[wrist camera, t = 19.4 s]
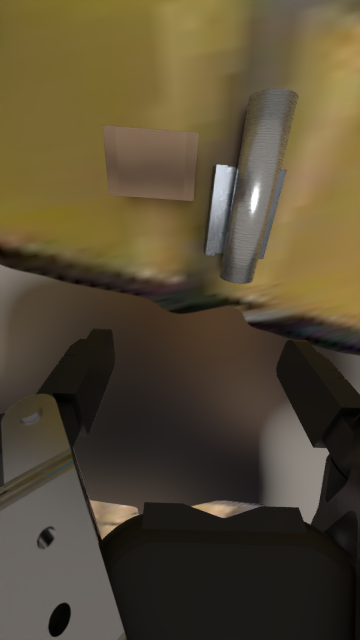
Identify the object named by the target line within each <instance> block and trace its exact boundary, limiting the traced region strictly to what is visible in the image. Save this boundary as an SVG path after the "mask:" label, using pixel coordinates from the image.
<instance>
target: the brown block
mask: <svg viewBox="0 0 360 640" xmlns="http://www.w3.org/2000/svg"><path fill="white" fill-rule="evenodd" d="M103 134H104V145H105V155H106V166H107V176H108V187H109V195H115V196H129V197H143V198H157V199H171V200H185V201H193V200H194V188H195V175H196V163H197V151H198V139H199V133H194V132H182V131H169V130H157V129H144V128H131V127H119V126H106V125H103Z"/></svg>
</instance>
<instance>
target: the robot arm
mask: <svg viewBox="0 0 360 640" xmlns="http://www.w3.org/2000/svg"><path fill="white" fill-rule="evenodd" d="M114 366H115V349H114V341H113V333H112V330H111V329H92V331H91V332H90V334H89V336H88V337H87V339H80V340H78V341H77V342H75V343H74V344H73V345H71V346H70V347H69V349H68V350H67V352H66V353H65V354H64V357H62V358H61V360H60V361H59V364H57V365H56V367H55V368H54V370H53V371H52V372H51V374H50V375H49V377H48V378H47V379H46V381H45V382H44V383H43V385H42V386H41V388H40V389H39V390H38V392H37V393H36V394H35V395H31V396H28V397H26V398H23V399H21V400H20V401H18V402H17V403H15V404H14V405H13V406H11V407H10V408H9V409H8V410H7V412H6V413H3V414H0V487H2V486H4V492H3V493H2V494H0V640H360V394H359V393H358V392H357V391H356V390H355V389H354V388H353V386H352V385H351V384H350V383H349V382H348V381H347V380H346V379H344V376H343V375H342V374H341V373H340V372H339V371H338V369H337V368H336V367H335V366H334V365H333V363H332V362H331V361H330V360H329V359H327V358H326V357H324V356H323V355H322V354H320V353H319V352H316V350H315V349H314V348H313V347H312V345H311V344H310V343H309V342H308V341H305V340H288V341H287V342H286V343H285V346H284V348H283V351H282V353H281V356H280V359H279V361H278V363H277V367H276V372H277V377H278V379H279V381H280V383H281V385H282V387H283V389H284V391H285V393H286V395H287V397H288V399H289V401H290V403H291V404H292V407H293V409H294V411H295V413H296V414H297V416H298V419H299V420H300V422H301V424H302V426H303V428H304V430H305V432H306V434H307V436H308V438H309V440H310V442H311V444H312V446H313V447H315V448H316V447H317V448H327V449H328V451H329V453H330V454H329V455H328V456H327V458H326V463H325V470H324V475H323V482H322V488H321V494H320V500H319V505H318V509H317V511H316V514H315V515H314V517H313V519H312V522H311V525H310V524H308V523H306V522H304V521H303V518H302V516H301V513H300V510H299V508H293V507H265V506H261V507H258V508H255V509H252V510H249V511H246V512H243V513H240V514H237V515H234V516H231V517H228V518H221V517H218V516H215V515H212V514H210V513H207V512H204V511H201V510H199V509H196V508H193V507H191V506H188V505H185V504H179V503H178V504H177V503H149V502H145V503H144V511H143V514H140V515H137V516H135V517H133V518H130V519H128V520H126V521H125V522H123V523H122V524H120V525H119V526H117V527H116V528H115V529H113V530H112V531H111V532H110V533H109V534H107V535H106V536H105V537H104V538H103V539H102V537H101V534H100V531H99V528H98V524H97V521H96V518H95V515H94V512H93V509H92V506H91V503H90V500H89V497H88V494H87V491H86V488H85V485H84V482H83V478H82V475H81V472H80V469H79V466H78V462H77V459H76V456H75V453H74V450H73V446H74V444H75V442H76V439H77V437H88V435H89V433H90V430H91V427H92V425H93V422H94V419H95V417H96V414H97V412H98V409H99V406H100V404H101V401H102V398H103V396H104V393H105V391H106V388H107V385H108V383H109V380H110V377H111V375H112V372H113V369H114Z"/></svg>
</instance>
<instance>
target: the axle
mask: <svg viewBox="0 0 360 640" xmlns="http://www.w3.org/2000/svg"><path fill="white" fill-rule="evenodd" d="M297 101H298V94H297V93H296V92H294V91H291V90H287V89H266V90H261V91H258V92H255V93H253V94H252V95H251V96H250V97H249V102H248V108H247V114H246V120H245V126H244V132H243V138H242V144H241V150H240V156H239V162H238V169H237V175H236V181H235V187H234V193H233V199H232V205H231V211H230V217H229V223H228V229H227V235H226V242H225V248H224V254H223V260H222V266H221V272H220V277H221V278H222V279H224V280H226V281H229V282H232V283H240V284H245V283H250V282H252V281H253V277H254V273H255V269H256V265H257V261H258V257H259V253H260V249H261V245H262V241H263V237H264V233H265V229H266V225H267V221H268V217H269V213H270V209H271V205H272V201H273V197H274V193H275V189H276V185H277V181H278V177H279V173H280V169H281V165H282V161H283V157H284V153H285V149H286V145H287V141H288V137H289V133H290V129H291V125H292V121H293V117H294V113H295V109H296V105H297Z"/></svg>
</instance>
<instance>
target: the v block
mask: <svg viewBox="0 0 360 640" xmlns="http://www.w3.org/2000/svg"><path fill="white" fill-rule="evenodd" d="M237 169H238V168H237V167H227V165H215V166H214V169H213V178H212V186H211V195H210V203H209V212H208V221H207V229H206V238H205V246H204V252H205V255H212V256H214V255H215V253H222V254H224V248H225V242H226V235H227V229H228V223H229V217H230V211H231V205H232V199H233V193H234V187H235V181H236V175H237ZM285 174H286V170H283V169H280V173H279V177H278V181H277V185H276V189H275V193H274V197H273V201H272V205H271V209H270V213H269V217H268V221H267V225H266V229H265V233H264V237H263V241H262V245H261V249H260V253H259V257H258V259H263V257H264V254H265V250H266V246H267V242H268V238H269V235H270V231H271V227H272V223H273V219H274V215H275V212H276V208H277V204H278V200H279V196H280V193H281V189H282V185H283V181H284V177H285Z"/></svg>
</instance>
